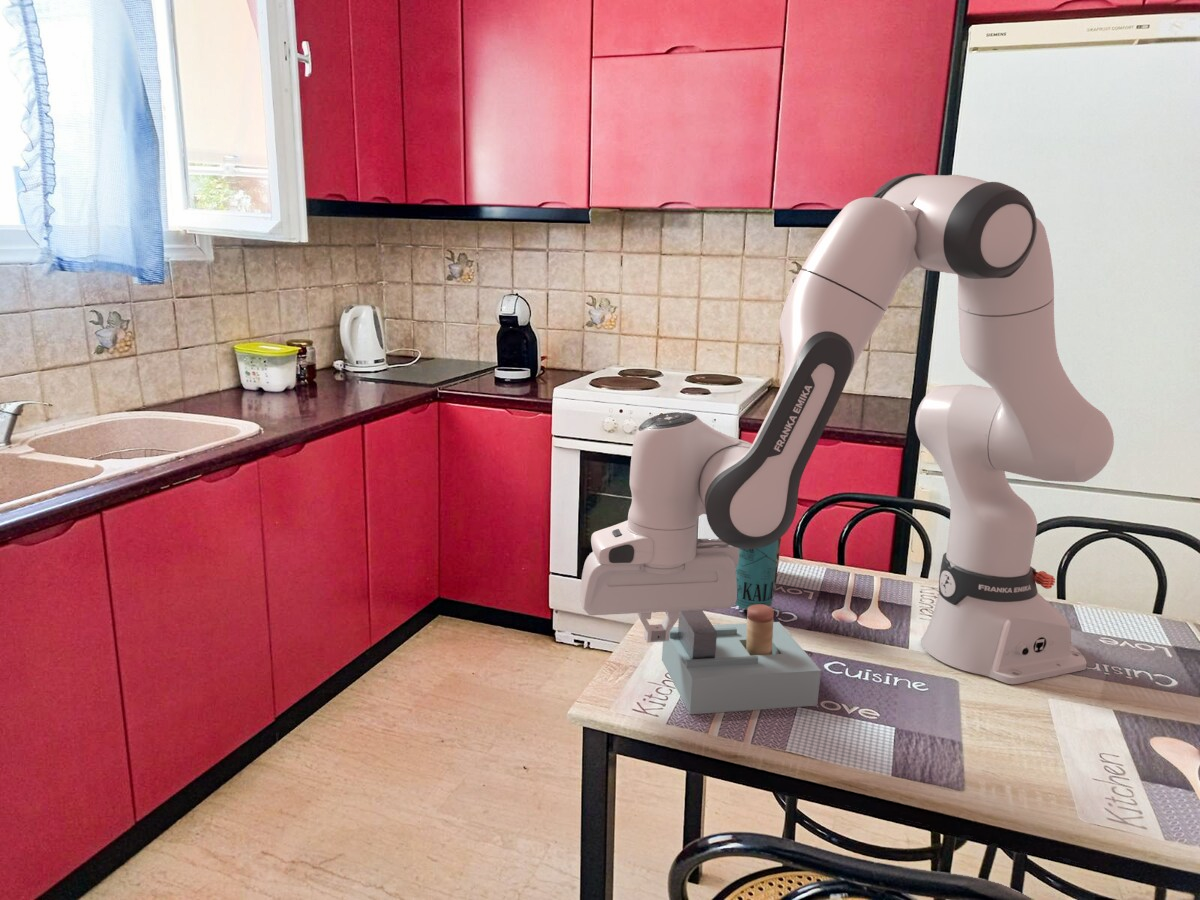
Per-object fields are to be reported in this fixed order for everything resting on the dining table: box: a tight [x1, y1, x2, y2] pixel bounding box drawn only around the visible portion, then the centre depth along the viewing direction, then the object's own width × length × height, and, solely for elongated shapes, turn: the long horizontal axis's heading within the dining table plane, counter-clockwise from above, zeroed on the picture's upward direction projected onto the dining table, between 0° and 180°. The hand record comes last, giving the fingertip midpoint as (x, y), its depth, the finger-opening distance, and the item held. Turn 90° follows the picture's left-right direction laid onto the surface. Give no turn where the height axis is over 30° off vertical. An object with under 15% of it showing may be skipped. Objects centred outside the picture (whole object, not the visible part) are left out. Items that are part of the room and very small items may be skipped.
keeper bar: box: [677, 610, 717, 660], centre depth 111 cm, size 3×7×4 cm, turn 10°
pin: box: [746, 604, 775, 656], centre depth 113 cm, size 3×3×10 cm
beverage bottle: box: [734, 540, 778, 610], centre depth 133 cm, size 6×7×20 cm
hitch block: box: [661, 621, 822, 715], centre depth 113 cm, size 17×14×6 cm
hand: (656, 640), depth 110 cm, fingers closed
